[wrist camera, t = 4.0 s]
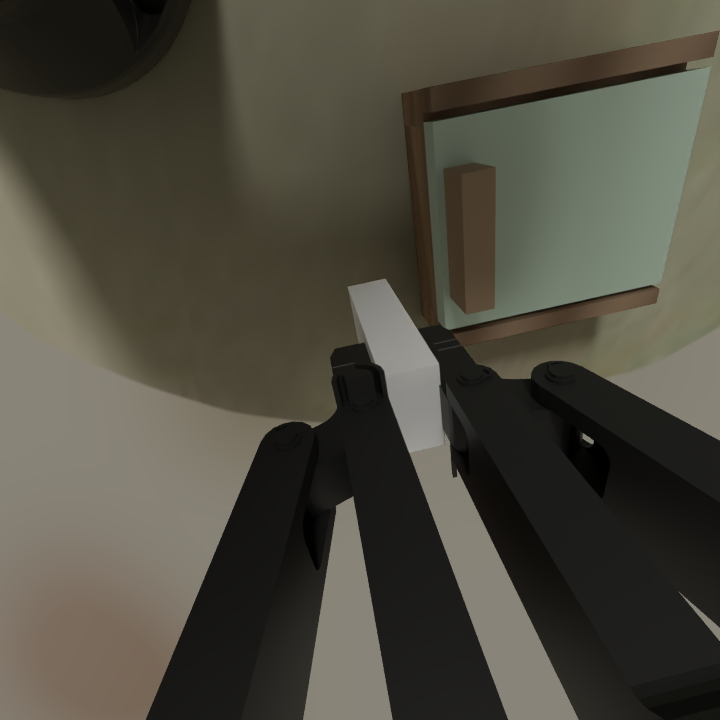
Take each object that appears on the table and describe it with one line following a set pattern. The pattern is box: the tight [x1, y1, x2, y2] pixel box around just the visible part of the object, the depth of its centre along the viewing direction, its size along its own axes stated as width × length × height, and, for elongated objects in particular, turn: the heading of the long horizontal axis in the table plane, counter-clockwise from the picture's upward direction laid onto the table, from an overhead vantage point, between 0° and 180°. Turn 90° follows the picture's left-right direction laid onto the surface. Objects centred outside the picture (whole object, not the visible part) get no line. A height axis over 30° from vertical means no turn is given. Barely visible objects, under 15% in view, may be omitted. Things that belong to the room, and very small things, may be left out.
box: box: [402, 31, 719, 346], centre depth 25 cm, size 14×14×6 cm
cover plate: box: [424, 67, 711, 330], centre depth 22 cm, size 14×11×4 cm
